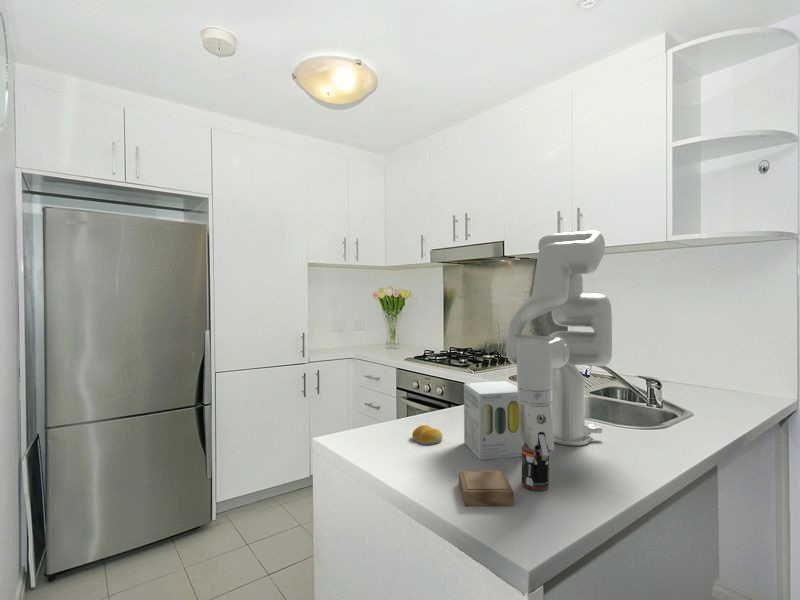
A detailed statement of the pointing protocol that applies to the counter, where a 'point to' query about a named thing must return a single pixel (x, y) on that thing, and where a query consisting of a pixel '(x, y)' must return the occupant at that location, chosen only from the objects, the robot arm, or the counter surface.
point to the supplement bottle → (527, 470)
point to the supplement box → (492, 420)
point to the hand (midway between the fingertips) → (535, 474)
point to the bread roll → (427, 435)
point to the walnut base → (485, 488)
